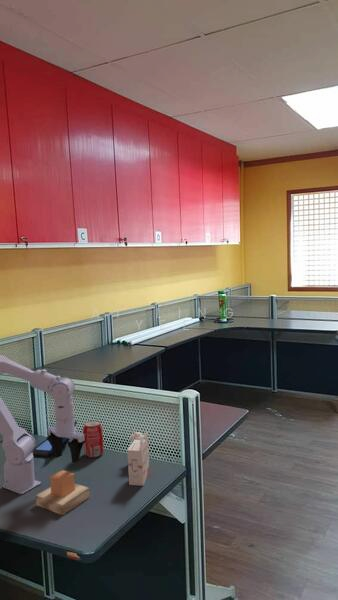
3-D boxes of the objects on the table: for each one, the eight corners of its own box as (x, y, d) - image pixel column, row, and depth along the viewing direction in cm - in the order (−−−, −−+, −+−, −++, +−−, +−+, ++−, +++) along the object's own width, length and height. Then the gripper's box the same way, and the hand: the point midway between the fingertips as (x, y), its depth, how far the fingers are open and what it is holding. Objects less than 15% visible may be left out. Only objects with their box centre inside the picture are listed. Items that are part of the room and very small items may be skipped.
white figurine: (128, 460, 164) (126, 427, 163) (137, 456, 166) (136, 424, 165) (141, 468, 156) (140, 435, 155) (151, 465, 159) (149, 432, 158)
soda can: (94, 449, 174) (92, 418, 173) (107, 453, 170) (106, 421, 169) (80, 455, 169) (78, 424, 167) (94, 460, 164) (92, 428, 163)
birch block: (36, 506, 136) (35, 495, 136) (63, 489, 145) (63, 479, 145) (63, 516, 130) (62, 505, 130) (89, 498, 139) (89, 487, 139)
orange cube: (50, 492, 137) (49, 476, 136) (63, 485, 141) (62, 470, 140) (62, 497, 134) (61, 481, 133) (75, 489, 138) (74, 473, 138)
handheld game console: (49, 440, 185) (47, 417, 184) (79, 442, 182) (78, 419, 181) (27, 456, 170) (25, 432, 169) (60, 459, 167) (58, 435, 166)
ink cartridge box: (135, 472, 154) (133, 430, 153) (149, 473, 153) (148, 431, 152) (128, 485, 146) (126, 440, 144) (143, 486, 145) (141, 441, 143)
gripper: (90, 417, 142) (92, 459, 144) (58, 409, 151) (60, 449, 152) (74, 424, 137) (76, 468, 138) (41, 416, 145) (43, 457, 146)
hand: (67, 459), depth 145 cm, fingers open, 7 cm apart
